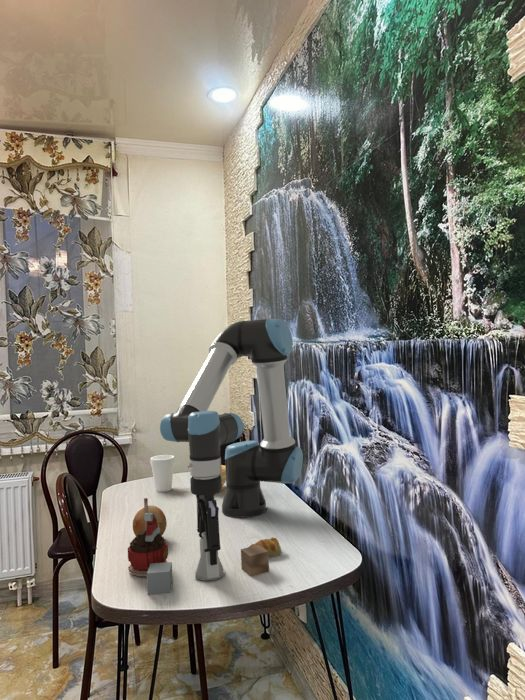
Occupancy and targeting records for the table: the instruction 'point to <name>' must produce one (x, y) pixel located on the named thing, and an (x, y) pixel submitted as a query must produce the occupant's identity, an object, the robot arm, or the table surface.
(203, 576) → the flask
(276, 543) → the pastry
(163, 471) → the foam cup
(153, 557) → the cake
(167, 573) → the slate-grey block
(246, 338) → the robot arm
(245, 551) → the walnut block
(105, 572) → the table surface
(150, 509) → the onion
